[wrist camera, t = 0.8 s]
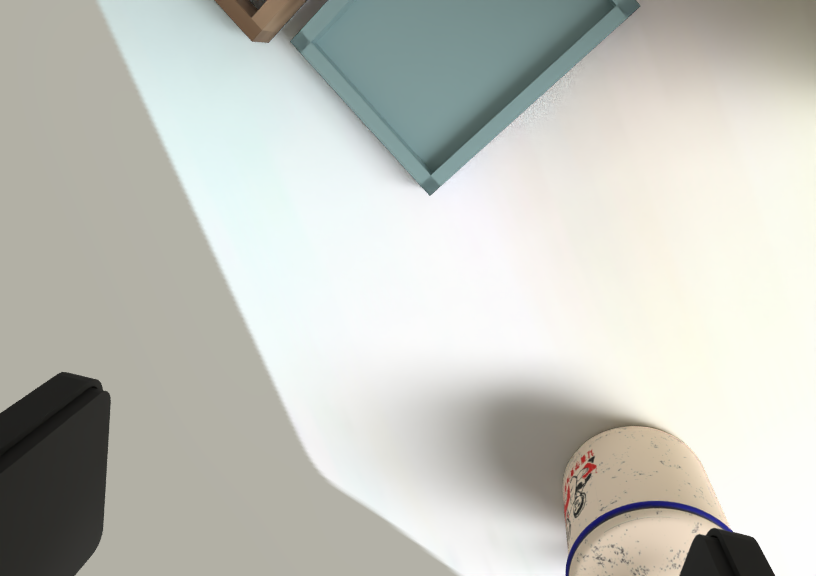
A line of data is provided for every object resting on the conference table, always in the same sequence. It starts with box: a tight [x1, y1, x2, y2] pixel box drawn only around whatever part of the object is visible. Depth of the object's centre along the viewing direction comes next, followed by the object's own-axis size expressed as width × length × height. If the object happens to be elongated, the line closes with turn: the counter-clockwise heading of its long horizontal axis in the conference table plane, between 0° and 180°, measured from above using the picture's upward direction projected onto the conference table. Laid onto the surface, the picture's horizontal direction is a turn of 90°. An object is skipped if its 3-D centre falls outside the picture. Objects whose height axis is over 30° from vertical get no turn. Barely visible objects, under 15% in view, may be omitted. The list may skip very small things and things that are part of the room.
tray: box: [290, 0, 640, 196], centre depth 36 cm, size 14×11×2 cm
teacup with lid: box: [562, 426, 733, 576], centre depth 39 cm, size 12×9×12 cm
